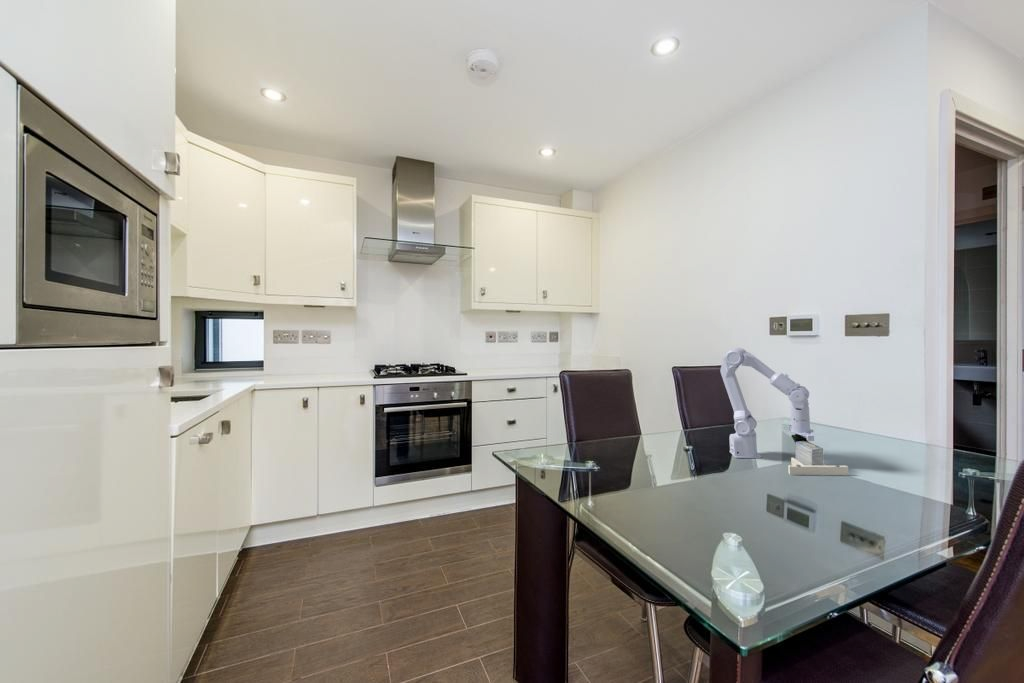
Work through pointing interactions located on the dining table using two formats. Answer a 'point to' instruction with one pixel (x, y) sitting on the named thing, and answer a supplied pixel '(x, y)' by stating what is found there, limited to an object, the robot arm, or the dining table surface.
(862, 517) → the dining table surface
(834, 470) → the dock
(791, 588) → the dining table surface
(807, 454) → the medicine box
